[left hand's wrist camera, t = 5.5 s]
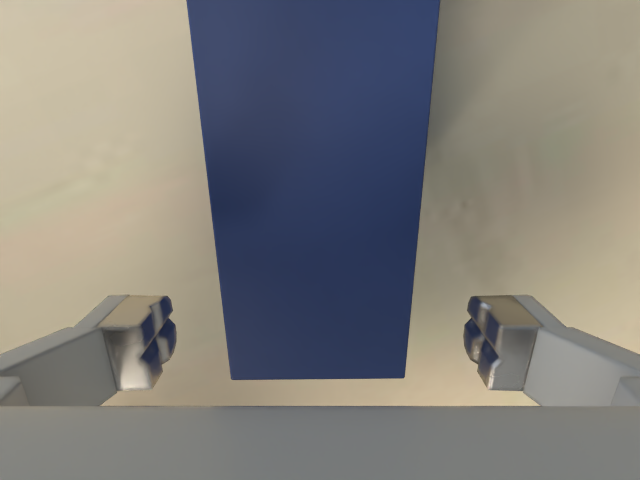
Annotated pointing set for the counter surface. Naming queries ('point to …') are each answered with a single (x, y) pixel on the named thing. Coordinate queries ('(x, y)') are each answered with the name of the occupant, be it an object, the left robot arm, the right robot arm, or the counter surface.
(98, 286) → the counter surface
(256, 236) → the box
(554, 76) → the counter surface
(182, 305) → the counter surface
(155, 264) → the counter surface
